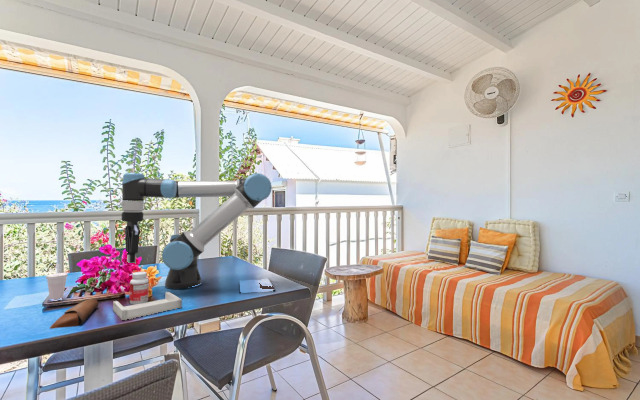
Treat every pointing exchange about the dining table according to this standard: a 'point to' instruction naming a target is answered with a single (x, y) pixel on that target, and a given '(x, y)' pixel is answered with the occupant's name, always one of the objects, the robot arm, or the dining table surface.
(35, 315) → the dining table surface
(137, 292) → the pill bottle
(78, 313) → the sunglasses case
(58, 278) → the smoothie
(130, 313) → the tray
